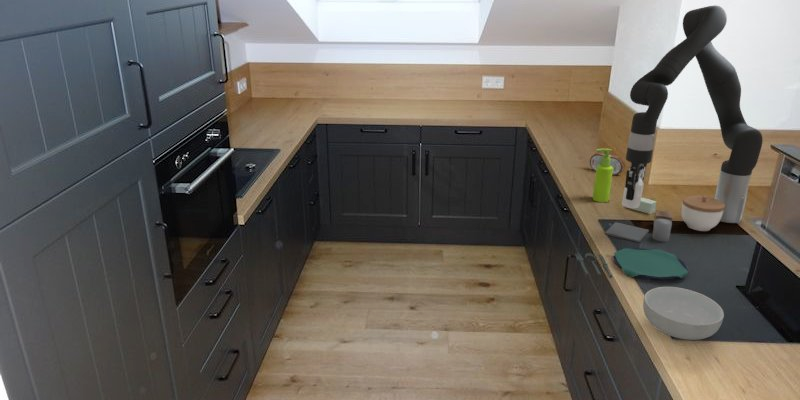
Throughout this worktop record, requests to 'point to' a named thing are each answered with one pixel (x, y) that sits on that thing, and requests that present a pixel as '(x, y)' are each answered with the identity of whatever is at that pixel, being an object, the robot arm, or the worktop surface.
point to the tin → (615, 162)
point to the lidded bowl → (702, 212)
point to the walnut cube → (663, 215)
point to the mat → (627, 232)
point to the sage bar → (646, 206)
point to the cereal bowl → (682, 312)
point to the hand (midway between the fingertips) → (632, 196)
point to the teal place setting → (643, 263)
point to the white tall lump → (637, 196)
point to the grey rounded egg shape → (662, 230)
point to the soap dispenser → (603, 177)
